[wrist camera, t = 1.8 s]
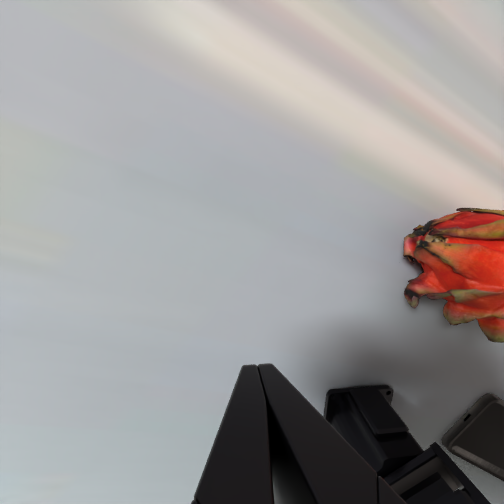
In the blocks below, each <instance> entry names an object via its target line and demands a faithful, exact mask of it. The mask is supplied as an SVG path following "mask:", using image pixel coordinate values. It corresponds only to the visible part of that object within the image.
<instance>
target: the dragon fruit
mask: <svg viewBox="0 0 504 504" xmlns="http://www.w3.org/2000/svg"><path fill="white" fill-rule="evenodd" d="M456 211H460V212H457V213H454V214H450V215H446V216H444V217H441V218H439V219H434V220H431V221H429V222H428V223H427V224H425V226H421V225H419V226H418V227H416V228H414V229H413V230H417V231H415V232H413V233H412V234H409V235H408V236H406V237H405V238H404V255H403V256H404V257H407V259H409V261H411V262H413V263H414V260H413V259H416V260H417V261H418V262H419V263H421V265H422V268H423V269H424V272H423V273H421V274H420V275H419V277H417V278H415V279H411V280H409V281H408V282H410V283H409V284H408V285H407V287H406V289H405V291H404V296H405V298H406V299H407V301H408V303H409V304H410V305H411V306H412V307H413V308H416V307H417V306H418V303H419V298H420V297H421V296H423V295H425V294H427V295H425V296H427V297H428V298H429V299H439V298H443V299H445V300H447V301H448V302H447V303H446V304H445V306H444V309H443V314H444V317H445V318H446V319H447V321H448V322H449V323H450V325H458V324H461V323H468V322H470V321H473V320H474V319H477V320H478V323H479V326H480V328H481V330H482V331H483V332H484V334H485V335H486V336H487V338H488V340H490V341H492V342H501V343H502V342H504V210H502V211H500V210H490V209H489V210H487V209H478V208H459V209H456ZM471 211H473V212H471ZM421 235H422V236H421ZM399 263H400V262H399Z"/></svg>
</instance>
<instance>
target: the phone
mask: <svg viewBox="0 0 504 504" xmlns="http://www.w3.org/2000/svg"><path fill="white" fill-rule="evenodd" d="M478 404H480V405H478ZM468 414H470V415H471V416H470V417H469V418H468V419H467V420H466V421H464V420H463V419H464V418H465V417H466V416H467V415H468ZM442 443H443V445H444V446H445V447H446V448H447V449H448V450H449V451H450V452H451V453H453V454H454V455H456V456H458V457H460V458H462V459H464V460H466V461H467V462H469V463H471V464H473V465H475V466H477V467H479V468H480V469H482V470H484V471H486V472H488V473H490V474H492V475H493V476H495V477H497V478H499V479H501V480H503V481H504V401H503V400H502V399H500V398H499V397H497V396H496V395H494V394H486V395H484V396H482V397H481V398H480V399H479V400H478V401H477V402H476V403H475V404H474V405H473V406H472V407H471V408H470V409H469V410H468V411H467V412H466V413H465V414H464V415H463V416H462V418H461V419H460V420H459V421H458V422H457V423H456V424H455V425H454V426H453V427H452V428H451V429H450V430H449V431H448V432H447V433H446V434H445V435H444V436H443V438H442Z"/></svg>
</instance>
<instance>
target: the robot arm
mask: <svg viewBox="0 0 504 504" xmlns="http://www.w3.org/2000/svg"><path fill="white" fill-rule="evenodd" d="M392 397H393V390H392V388H391V387H390V386H388V385H384V386H372V387H359V388H346V389H333V390H329V391H328V392H327V394H326V402H325V409H324V417H323V416H322V415H321V414H320V413H319V412H318V411H317V410H316V409H315V408H314V407H313V406H312V405H311V404H310V403H309V402H308V401H307V399H306V398H305V397H304V396H303V395H302V394H301V393H300V392H299V391H298V390H297V389H296V388H295V387H294V386H293V385H292V384H291V383H290V382H289V381H288V380H287V379H286V378H285V377H284V376H283V375H282V373H281V372H280V371H279V370H278V369H277V368H276V367H275V366H274V365H273V364H270V363H269V364H259V365H258V366H257V365H255V364H253V365H243V366H242V368H241V370H240V373H239V376H238V379H237V381H236V384H235V387H234V389H233V392H232V395H231V397H230V400H229V403H228V406H227V408H226V411H225V414H224V416H223V419H222V422H221V425H220V427H219V430H218V433H217V435H216V438H215V441H214V444H213V446H212V449H211V452H210V454H209V457H208V460H207V462H206V465H205V468H204V471H203V473H202V476H201V479H200V481H199V484H198V487H197V490H196V492H195V495H194V500H193V501H192V502H191V504H491V503H490V502H489V501H488V500H487V499H486V498H485V497H484V495H483V494H482V493H481V492H480V491H479V490H478V489H477V488H476V486H475V485H474V484H473V483H472V482H471V481H470V480H469V479H468V478H467V476H466V475H465V474H464V473H463V472H462V471H461V470H460V469H459V467H458V466H457V465H456V464H455V463H454V462H453V461H452V460H451V458H450V457H449V456H448V455H447V454H446V453H445V452H444V451H443V450H442V448H441V447H440V446H439V445H438V444H437V443H436V442H434V443H433V444H431V445H430V448H428V449H427V450H425V451H423V449H422V448H421V447H420V446H419V444H418V443H417V442H416V440H415V439H414V438H413V436H412V435H411V434H410V433H409V431H408V430H409V429H408V427H407V426H406V424H405V423H404V422H403V421H402V419H401V418H400V417H399V415H398V414H397V413H396V412H395V410H394V409H393V408H392V406H391V401H392ZM458 488H459V489H458ZM456 489H457V490H456ZM455 490H456V491H455ZM453 491H454V492H453Z"/></svg>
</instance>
